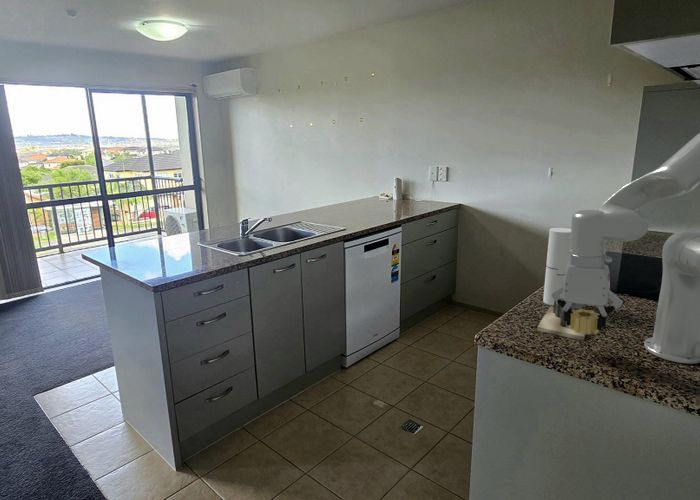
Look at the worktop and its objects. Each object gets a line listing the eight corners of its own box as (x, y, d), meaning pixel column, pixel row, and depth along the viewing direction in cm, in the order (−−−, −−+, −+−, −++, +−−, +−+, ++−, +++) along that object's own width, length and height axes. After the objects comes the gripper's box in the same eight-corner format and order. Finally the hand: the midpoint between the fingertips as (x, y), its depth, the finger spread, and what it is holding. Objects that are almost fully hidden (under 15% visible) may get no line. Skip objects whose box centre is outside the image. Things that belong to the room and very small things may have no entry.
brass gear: (600, 325, 111) (601, 311, 110) (597, 336, 106) (598, 321, 105) (572, 321, 115) (572, 307, 114) (567, 331, 110) (568, 317, 109)
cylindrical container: (546, 296, 149) (553, 226, 143) (568, 301, 145) (576, 229, 138) (540, 303, 144) (546, 230, 137) (563, 307, 139) (571, 233, 133)
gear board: (591, 317, 131) (594, 295, 129) (583, 340, 117) (586, 316, 115) (549, 309, 138) (551, 289, 136) (537, 330, 124) (539, 307, 122)
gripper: (629, 258, 104) (625, 326, 108) (552, 253, 114) (551, 315, 118) (627, 267, 98) (622, 338, 102) (546, 261, 108) (545, 326, 112)
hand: (584, 325), depth 110 cm, fingers closed on brass gear, 6 cm apart
